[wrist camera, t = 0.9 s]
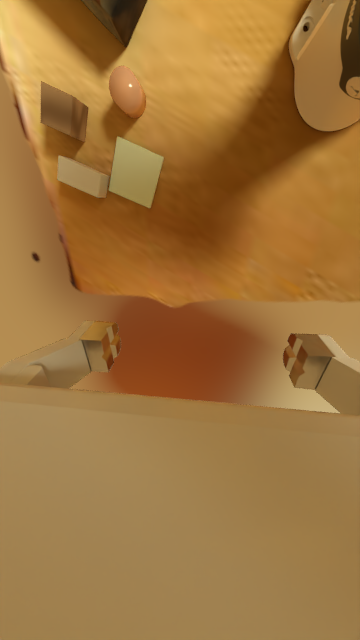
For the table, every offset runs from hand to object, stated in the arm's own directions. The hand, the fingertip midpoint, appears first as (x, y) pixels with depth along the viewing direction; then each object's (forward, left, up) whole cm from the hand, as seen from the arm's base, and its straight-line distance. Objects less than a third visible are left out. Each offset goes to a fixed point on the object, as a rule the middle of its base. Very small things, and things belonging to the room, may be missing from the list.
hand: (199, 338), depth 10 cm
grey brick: (0, -26, -41) cm, 48 cm away
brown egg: (-14, -20, -40) cm, 47 cm away
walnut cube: (-8, -30, -40) cm, 51 cm away
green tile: (-4, -17, -40) cm, 44 cm away
